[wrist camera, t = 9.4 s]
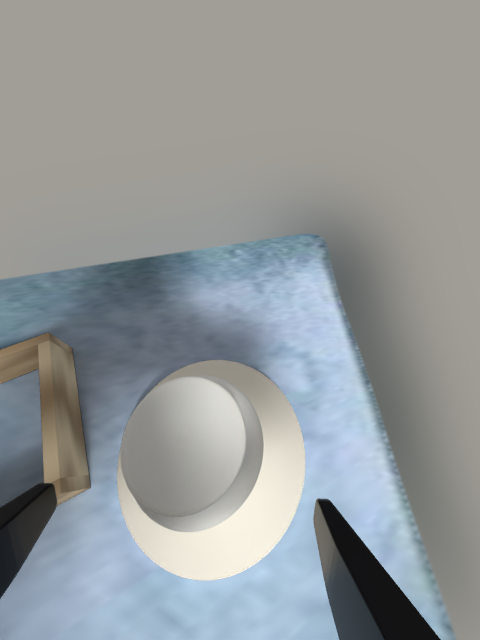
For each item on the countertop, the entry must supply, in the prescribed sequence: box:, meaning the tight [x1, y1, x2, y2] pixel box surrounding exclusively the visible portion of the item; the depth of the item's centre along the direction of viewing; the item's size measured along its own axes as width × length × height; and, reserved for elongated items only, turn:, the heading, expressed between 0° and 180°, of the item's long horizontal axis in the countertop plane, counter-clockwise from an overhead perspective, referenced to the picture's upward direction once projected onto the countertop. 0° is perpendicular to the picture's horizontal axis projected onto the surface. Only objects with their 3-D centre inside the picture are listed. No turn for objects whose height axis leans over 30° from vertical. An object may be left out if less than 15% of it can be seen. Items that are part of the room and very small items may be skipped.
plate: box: [117, 360, 305, 580], centre depth 16 cm, size 13×13×1 cm
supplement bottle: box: [121, 375, 264, 532], centre depth 11 cm, size 6×6×10 cm
